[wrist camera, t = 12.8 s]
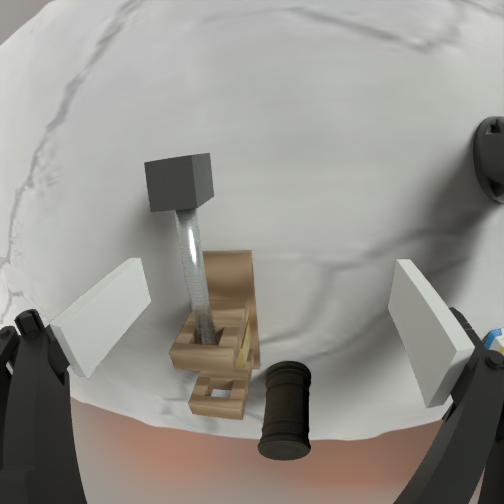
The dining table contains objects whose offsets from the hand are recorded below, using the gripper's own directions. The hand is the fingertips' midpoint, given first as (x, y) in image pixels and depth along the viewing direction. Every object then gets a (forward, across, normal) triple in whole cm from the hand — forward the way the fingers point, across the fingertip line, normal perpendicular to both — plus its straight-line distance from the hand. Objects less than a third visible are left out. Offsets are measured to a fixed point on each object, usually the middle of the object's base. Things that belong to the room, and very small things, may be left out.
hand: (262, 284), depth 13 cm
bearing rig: (+26, -10, -20) cm, 35 cm away
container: (+27, 0, -35) cm, 44 cm away
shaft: (+18, -10, -6) cm, 22 cm away
